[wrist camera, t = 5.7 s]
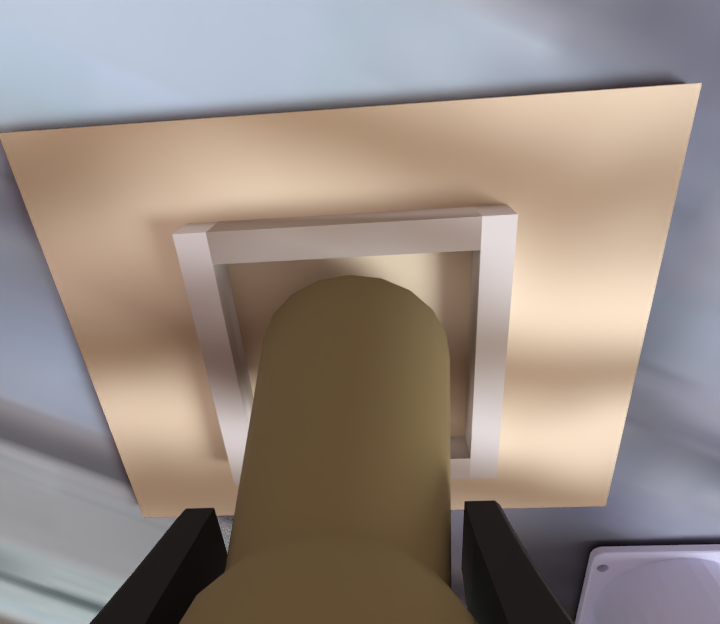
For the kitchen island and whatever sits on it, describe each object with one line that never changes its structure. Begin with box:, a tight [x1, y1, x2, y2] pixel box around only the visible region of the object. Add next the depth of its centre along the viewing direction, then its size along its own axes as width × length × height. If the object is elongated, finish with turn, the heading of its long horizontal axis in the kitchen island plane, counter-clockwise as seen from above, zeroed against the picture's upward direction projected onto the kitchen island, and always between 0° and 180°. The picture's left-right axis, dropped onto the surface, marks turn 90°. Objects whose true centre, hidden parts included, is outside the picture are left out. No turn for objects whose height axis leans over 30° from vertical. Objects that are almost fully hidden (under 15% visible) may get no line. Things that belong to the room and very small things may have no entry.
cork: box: [179, 275, 478, 624], centre depth 10 cm, size 6×6×11 cm
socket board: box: [0, 83, 702, 517], centre depth 16 cm, size 16×20×2 cm
